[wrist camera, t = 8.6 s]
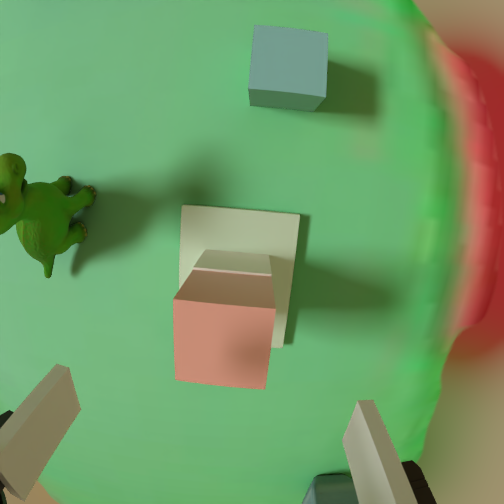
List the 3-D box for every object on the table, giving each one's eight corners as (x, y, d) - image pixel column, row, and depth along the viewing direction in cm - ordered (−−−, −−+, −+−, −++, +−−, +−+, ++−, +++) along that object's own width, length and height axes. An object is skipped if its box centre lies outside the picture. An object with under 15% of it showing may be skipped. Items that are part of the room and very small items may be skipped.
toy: (108, 165, 28) (8, 165, 14) (77, 282, 32) (-7, 341, 17) (67, 149, 28) (-34, 144, 13) (40, 261, 31) (-47, 306, 17)
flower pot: (359, 466, 38) (371, 507, 30) (342, 492, 41) (350, 530, 32) (307, 468, 38) (314, 513, 30) (295, 494, 40) (298, 534, 32)
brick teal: (254, 51, 26) (254, 24, 20) (315, 57, 26) (328, 33, 20) (250, 105, 27) (248, 88, 21) (312, 112, 27) (326, 97, 21)
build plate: (184, 204, 29) (162, 212, 23) (298, 213, 29) (310, 224, 23) (181, 334, 33) (165, 369, 26) (281, 343, 33) (287, 382, 26)
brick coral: (192, 269, 24) (173, 299, 18) (271, 276, 24) (276, 308, 18) (191, 337, 25) (175, 379, 19) (263, 344, 25) (265, 389, 19)
